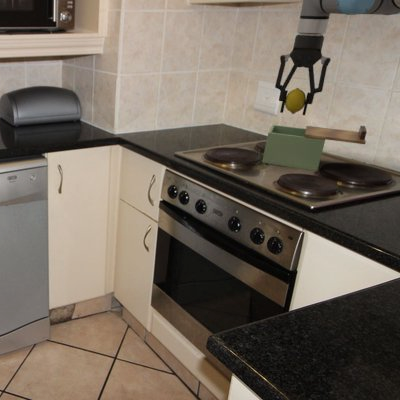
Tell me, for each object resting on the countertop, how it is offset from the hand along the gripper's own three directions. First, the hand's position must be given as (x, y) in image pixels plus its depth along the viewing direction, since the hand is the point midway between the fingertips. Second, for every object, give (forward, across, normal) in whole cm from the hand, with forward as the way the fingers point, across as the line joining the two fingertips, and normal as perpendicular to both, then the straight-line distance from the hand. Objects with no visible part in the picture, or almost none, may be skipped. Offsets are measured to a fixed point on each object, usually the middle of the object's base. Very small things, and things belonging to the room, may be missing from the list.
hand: (292, 113), depth 149 cm
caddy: (+16, -2, 0) cm, 16 cm away
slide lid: (+6, -12, 0) cm, 14 cm away
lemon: (+1, 0, 0) cm, 1 cm away
